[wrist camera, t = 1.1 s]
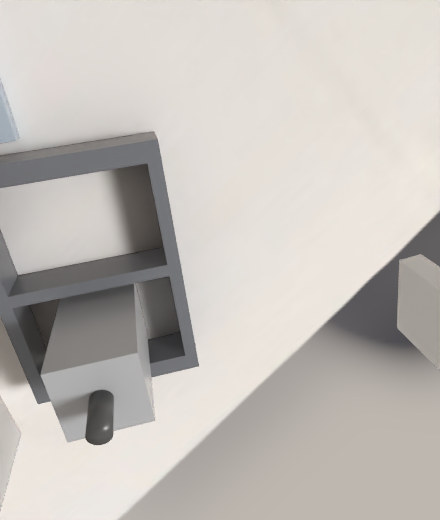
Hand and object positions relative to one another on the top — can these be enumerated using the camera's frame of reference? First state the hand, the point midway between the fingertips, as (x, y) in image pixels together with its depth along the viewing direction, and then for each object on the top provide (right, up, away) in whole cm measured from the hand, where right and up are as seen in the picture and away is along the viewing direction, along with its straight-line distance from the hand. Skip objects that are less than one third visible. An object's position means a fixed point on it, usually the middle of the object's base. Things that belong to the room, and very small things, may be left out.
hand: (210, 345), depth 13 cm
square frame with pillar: (-10, +2, +22) cm, 24 cm away
